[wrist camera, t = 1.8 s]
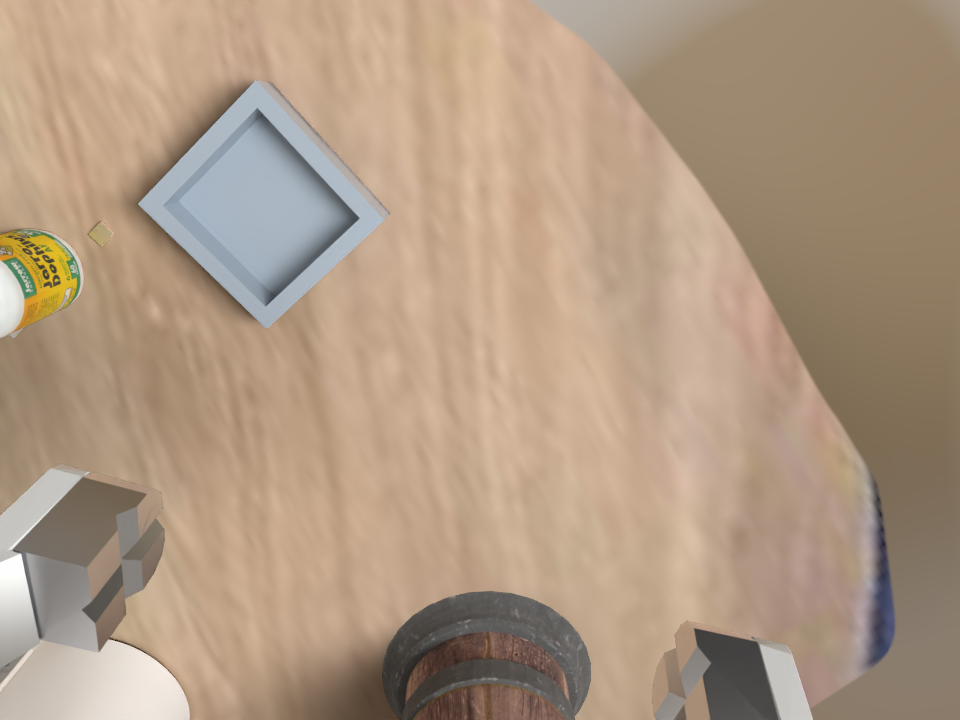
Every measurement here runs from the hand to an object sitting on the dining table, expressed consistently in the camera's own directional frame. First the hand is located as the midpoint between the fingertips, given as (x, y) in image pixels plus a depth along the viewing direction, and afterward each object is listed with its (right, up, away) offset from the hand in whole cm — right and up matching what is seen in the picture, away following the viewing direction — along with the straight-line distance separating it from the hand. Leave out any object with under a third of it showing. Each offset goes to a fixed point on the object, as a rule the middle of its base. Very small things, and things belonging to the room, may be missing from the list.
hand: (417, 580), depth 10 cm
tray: (-12, +13, +31) cm, 36 cm away
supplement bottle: (-27, +9, +33) cm, 43 cm away
